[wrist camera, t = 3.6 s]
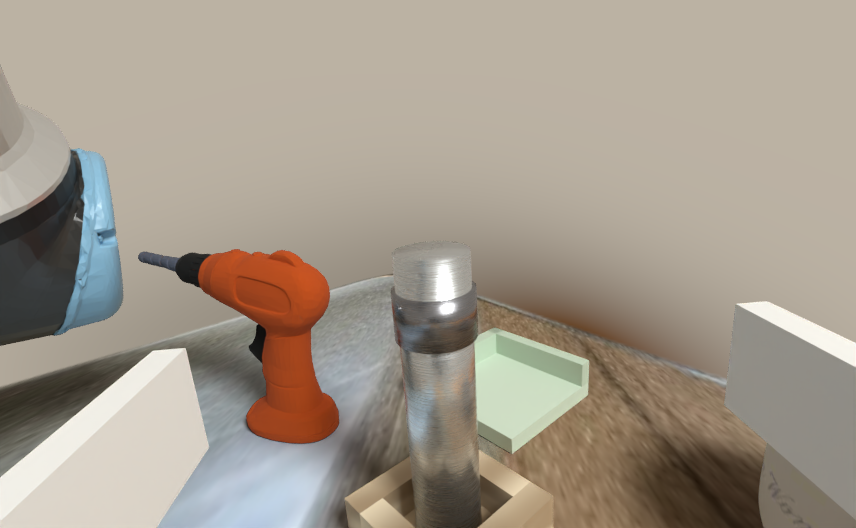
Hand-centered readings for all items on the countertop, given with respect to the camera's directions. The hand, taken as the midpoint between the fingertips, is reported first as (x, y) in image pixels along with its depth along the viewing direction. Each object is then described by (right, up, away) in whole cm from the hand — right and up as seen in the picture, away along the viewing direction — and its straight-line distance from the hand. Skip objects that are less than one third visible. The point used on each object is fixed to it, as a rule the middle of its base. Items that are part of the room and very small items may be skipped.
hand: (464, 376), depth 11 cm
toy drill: (-16, -10, +28) cm, 34 cm away
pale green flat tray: (+5, -8, +28) cm, 30 cm away
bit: (0, -12, +15) cm, 19 cm away
